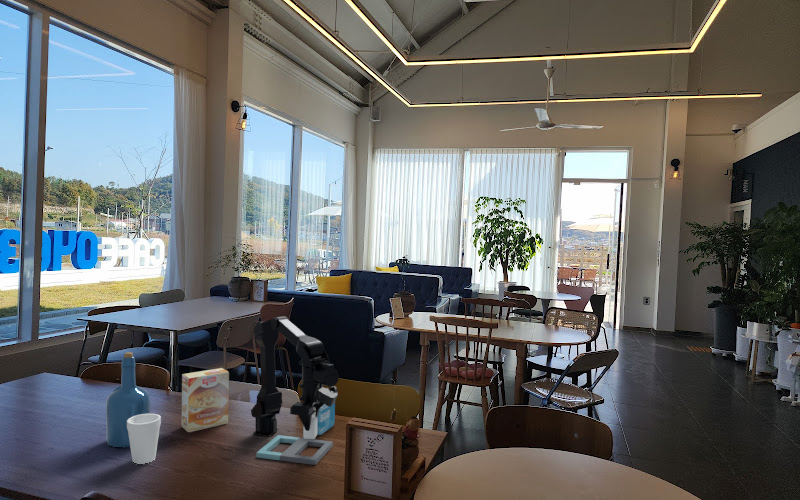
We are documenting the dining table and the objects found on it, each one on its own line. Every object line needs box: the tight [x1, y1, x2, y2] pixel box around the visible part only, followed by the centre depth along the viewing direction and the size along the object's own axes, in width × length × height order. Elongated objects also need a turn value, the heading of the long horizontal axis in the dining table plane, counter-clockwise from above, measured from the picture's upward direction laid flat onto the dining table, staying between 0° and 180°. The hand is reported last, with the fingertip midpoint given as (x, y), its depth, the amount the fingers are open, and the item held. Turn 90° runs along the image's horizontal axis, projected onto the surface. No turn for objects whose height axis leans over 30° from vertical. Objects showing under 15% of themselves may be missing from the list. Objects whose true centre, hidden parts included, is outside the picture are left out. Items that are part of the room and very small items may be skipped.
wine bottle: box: [105, 351, 151, 449], centre depth 181 cm, size 14×13×30 cm
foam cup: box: [127, 413, 162, 465], centre depth 167 cm, size 10×9×13 cm
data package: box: [317, 402, 336, 436], centre depth 195 cm, size 12×4×12 cm, turn 160°
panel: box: [255, 434, 334, 466], centre depth 176 cm, size 20×15×2 cm
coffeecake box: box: [181, 367, 230, 433], centre depth 197 cm, size 15×7×20 cm, turn 131°
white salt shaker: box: [302, 407, 318, 440], centre depth 174 cm, size 4×4×10 cm
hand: (310, 427), depth 175 cm, fingers closed on white salt shaker, 4 cm apart
